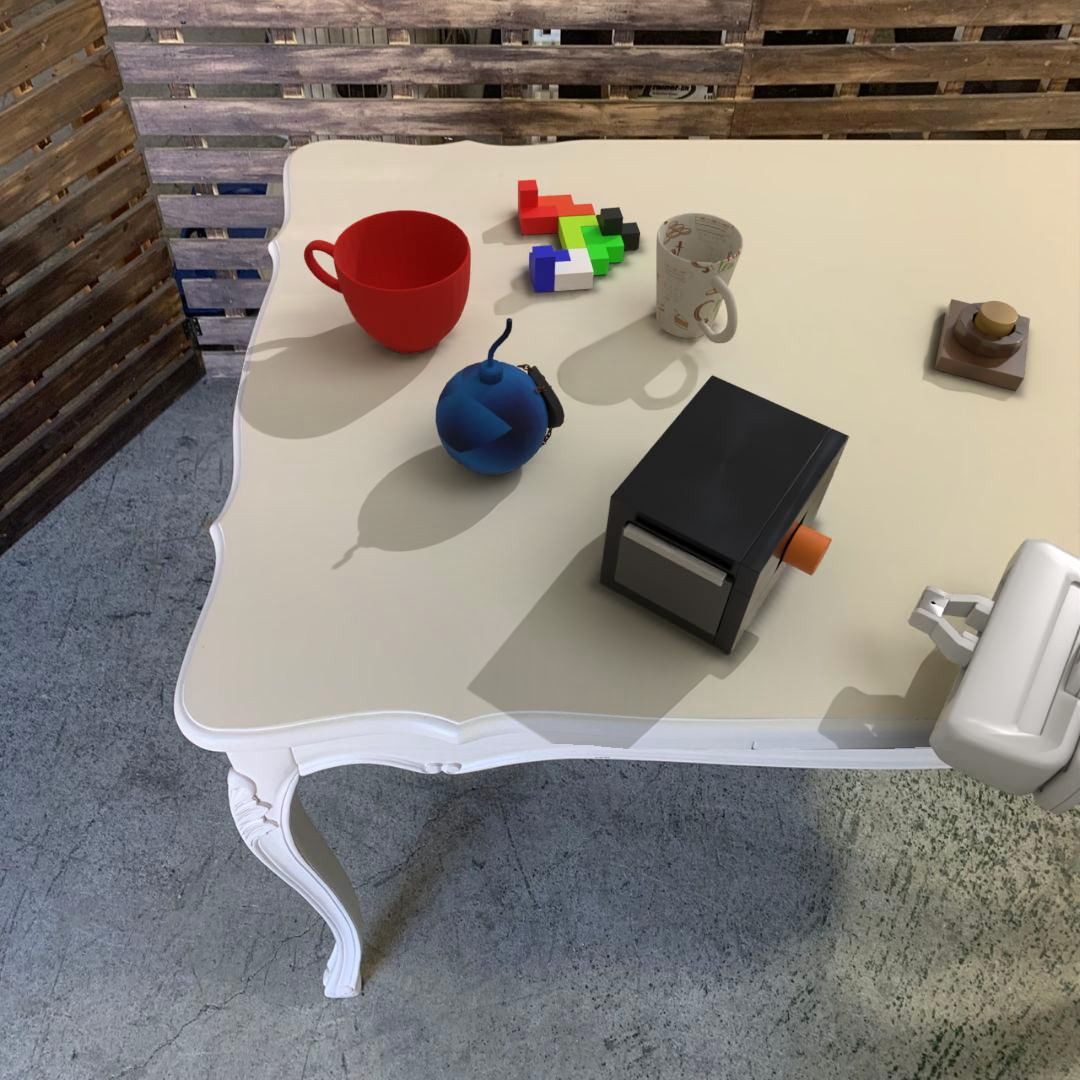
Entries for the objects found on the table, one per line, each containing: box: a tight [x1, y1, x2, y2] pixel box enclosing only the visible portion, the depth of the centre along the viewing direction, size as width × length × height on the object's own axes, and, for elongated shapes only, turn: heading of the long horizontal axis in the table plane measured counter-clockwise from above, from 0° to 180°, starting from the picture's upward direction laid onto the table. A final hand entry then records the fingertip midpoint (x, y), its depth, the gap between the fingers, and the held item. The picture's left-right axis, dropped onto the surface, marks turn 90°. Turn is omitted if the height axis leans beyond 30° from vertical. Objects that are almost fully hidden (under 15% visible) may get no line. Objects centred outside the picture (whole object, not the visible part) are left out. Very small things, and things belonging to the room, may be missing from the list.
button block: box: [934, 298, 1031, 392], centre depth 92 cm, size 8×10×4 cm
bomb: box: [434, 317, 565, 475], centre depth 76 cm, size 10×11×15 cm
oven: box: [598, 374, 850, 655], centre depth 71 cm, size 12×17×11 cm
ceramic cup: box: [303, 209, 472, 354], centre depth 89 cm, size 13×17×10 cm
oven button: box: [782, 525, 832, 576], centre depth 69 cm, size 2×3×3 cm
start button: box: [974, 300, 1019, 337], centre depth 90 cm, size 4×4×2 cm
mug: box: [655, 212, 744, 344], centre depth 90 cm, size 8×13×10 cm, turn 26°
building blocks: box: [517, 179, 641, 293], centre depth 100 cm, size 15×13×4 cm
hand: (916, 603), depth 66 cm, fingers closed
